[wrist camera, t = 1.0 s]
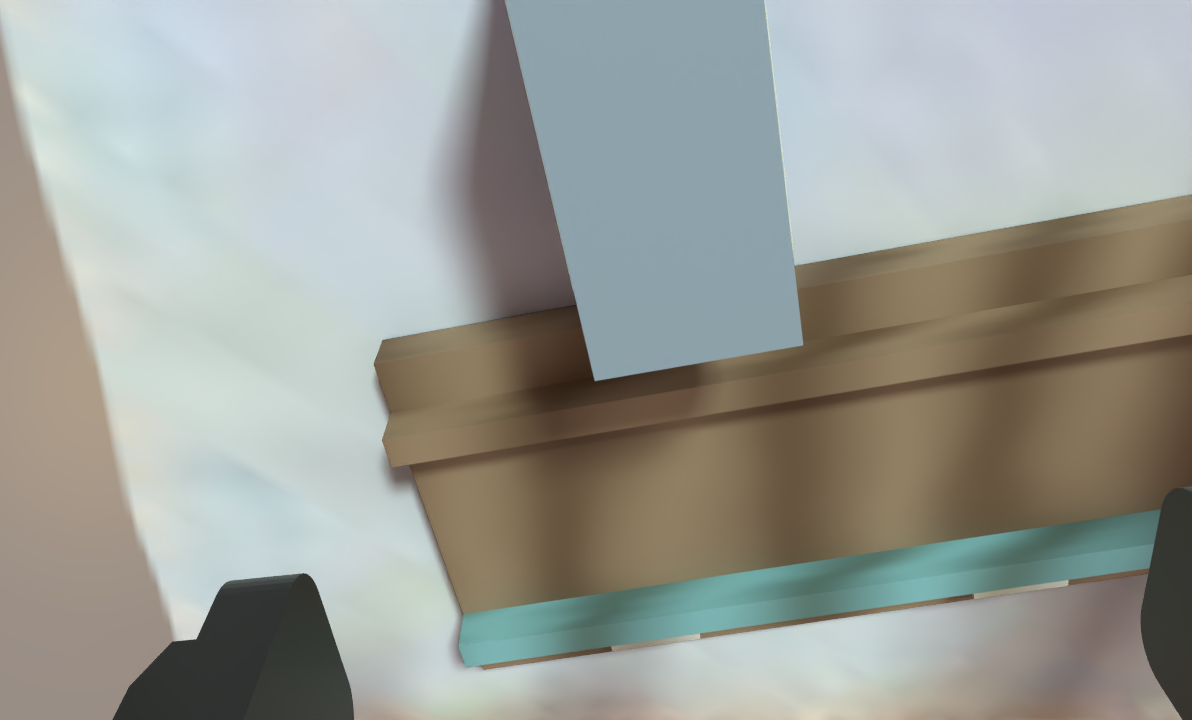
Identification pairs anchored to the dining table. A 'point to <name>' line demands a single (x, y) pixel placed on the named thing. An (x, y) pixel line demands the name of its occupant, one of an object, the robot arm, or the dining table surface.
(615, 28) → the carton
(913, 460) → the brown flat frame
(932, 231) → the dining table surface
